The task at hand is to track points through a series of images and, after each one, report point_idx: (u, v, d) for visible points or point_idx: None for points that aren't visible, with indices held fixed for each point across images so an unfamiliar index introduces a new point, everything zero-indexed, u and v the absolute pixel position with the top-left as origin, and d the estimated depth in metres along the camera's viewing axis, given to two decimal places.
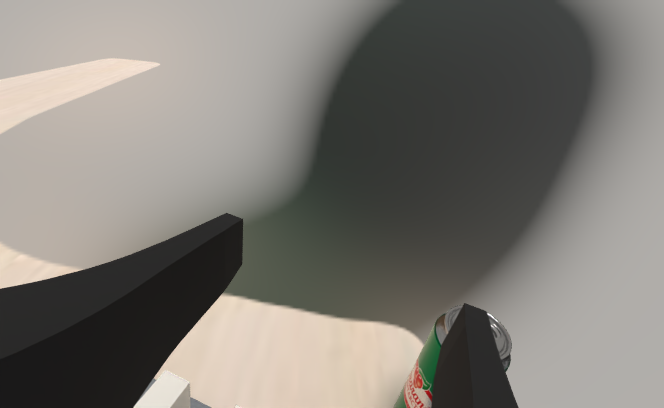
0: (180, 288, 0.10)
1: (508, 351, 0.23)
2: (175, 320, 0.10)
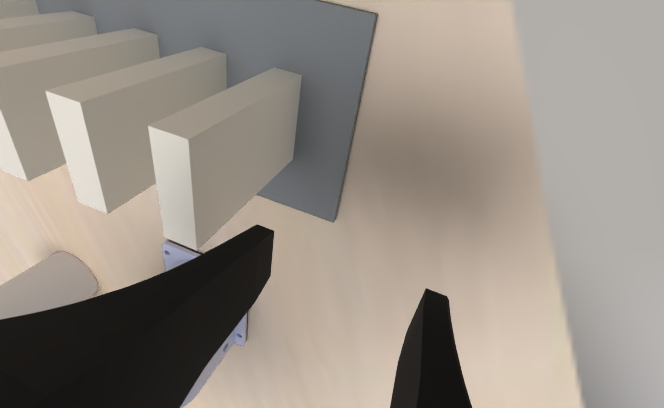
0: (216, 304, 0.10)
1: None
2: (209, 336, 0.10)
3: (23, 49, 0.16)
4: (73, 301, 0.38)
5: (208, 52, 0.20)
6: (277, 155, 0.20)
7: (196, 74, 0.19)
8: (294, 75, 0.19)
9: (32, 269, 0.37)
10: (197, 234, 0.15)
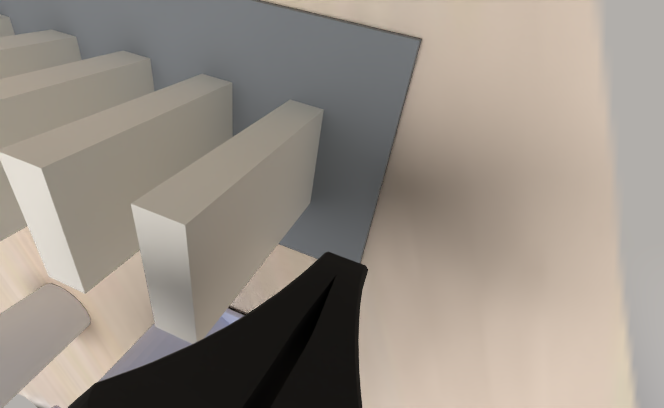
0: (300, 341, 0.09)
1: None
2: (290, 372, 0.10)
3: None
4: (62, 340, 0.34)
5: (211, 81, 0.17)
6: (294, 204, 0.17)
7: (196, 111, 0.15)
8: (315, 110, 0.16)
9: (17, 306, 0.33)
10: (198, 328, 0.12)
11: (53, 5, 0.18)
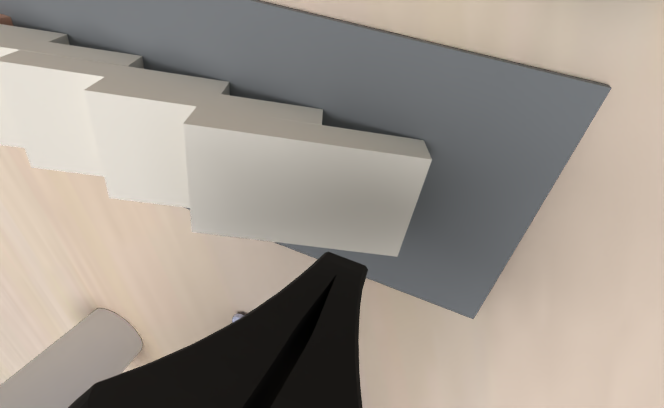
0: (300, 341, 0.09)
1: None
2: (290, 372, 0.10)
3: (77, 60, 0.16)
4: (118, 368, 0.33)
5: (309, 115, 0.15)
6: (355, 229, 0.16)
7: None
8: (421, 155, 0.14)
9: (72, 333, 0.32)
10: (194, 218, 0.16)
11: (162, 34, 0.17)
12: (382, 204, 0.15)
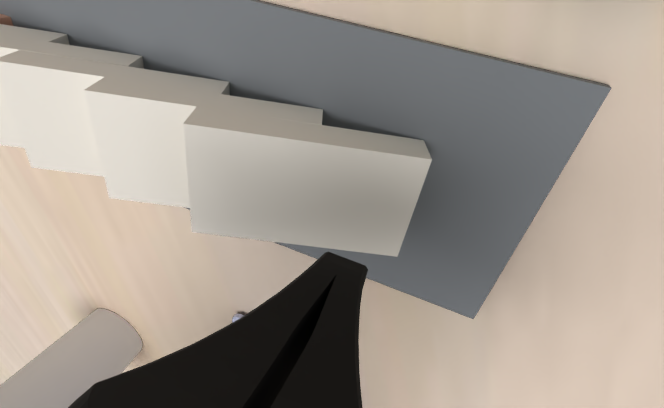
0: (300, 341, 0.09)
1: None
2: (290, 372, 0.10)
3: (77, 60, 0.16)
4: (118, 368, 0.33)
5: (309, 115, 0.15)
6: (355, 229, 0.16)
7: None
8: (421, 155, 0.14)
9: (72, 333, 0.32)
10: (194, 218, 0.16)
11: (162, 34, 0.17)
12: (382, 204, 0.15)
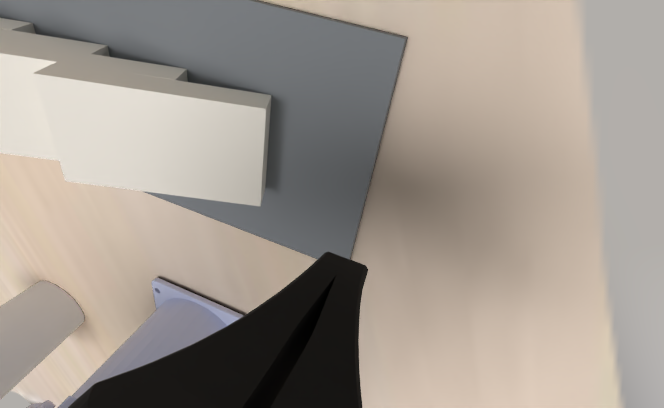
0: (300, 341, 0.09)
1: None
2: (291, 372, 0.10)
3: None
4: (56, 336, 0.34)
5: (168, 72, 0.17)
6: (215, 179, 0.17)
7: None
8: (258, 105, 0.15)
9: (11, 302, 0.34)
10: (64, 167, 0.17)
11: (45, 1, 0.18)
12: (232, 153, 0.17)
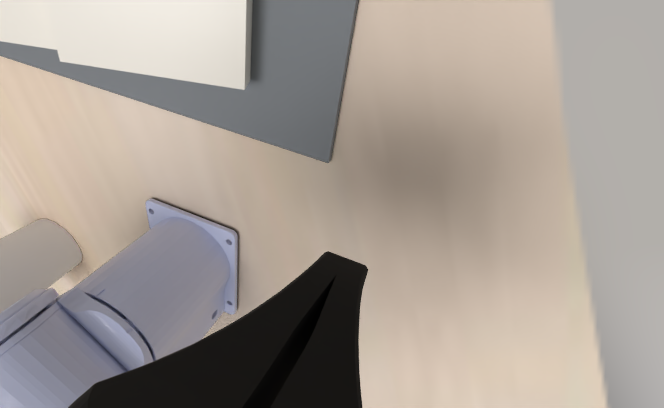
0: (300, 341, 0.09)
1: None
2: (291, 372, 0.10)
3: None
4: (55, 270, 0.35)
5: None
6: (201, 58, 0.18)
7: None
8: None
9: (11, 235, 0.35)
10: (59, 45, 0.18)
11: None
12: (217, 29, 0.18)
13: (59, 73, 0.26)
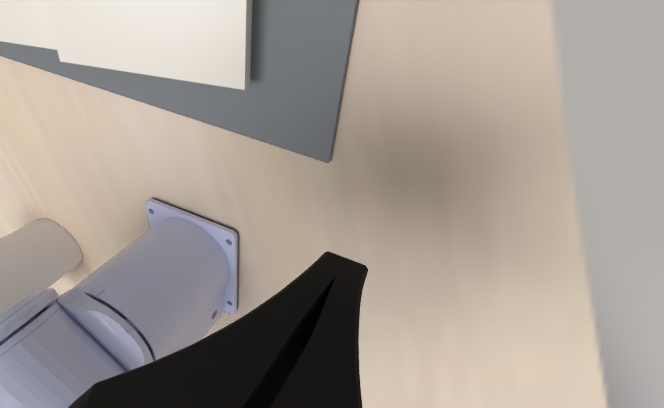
0: (300, 341, 0.09)
1: None
2: (291, 372, 0.10)
3: None
4: (55, 270, 0.35)
5: None
6: (201, 58, 0.18)
7: None
8: None
9: (11, 235, 0.35)
10: (59, 45, 0.18)
11: None
12: (217, 29, 0.18)
13: (59, 73, 0.26)
